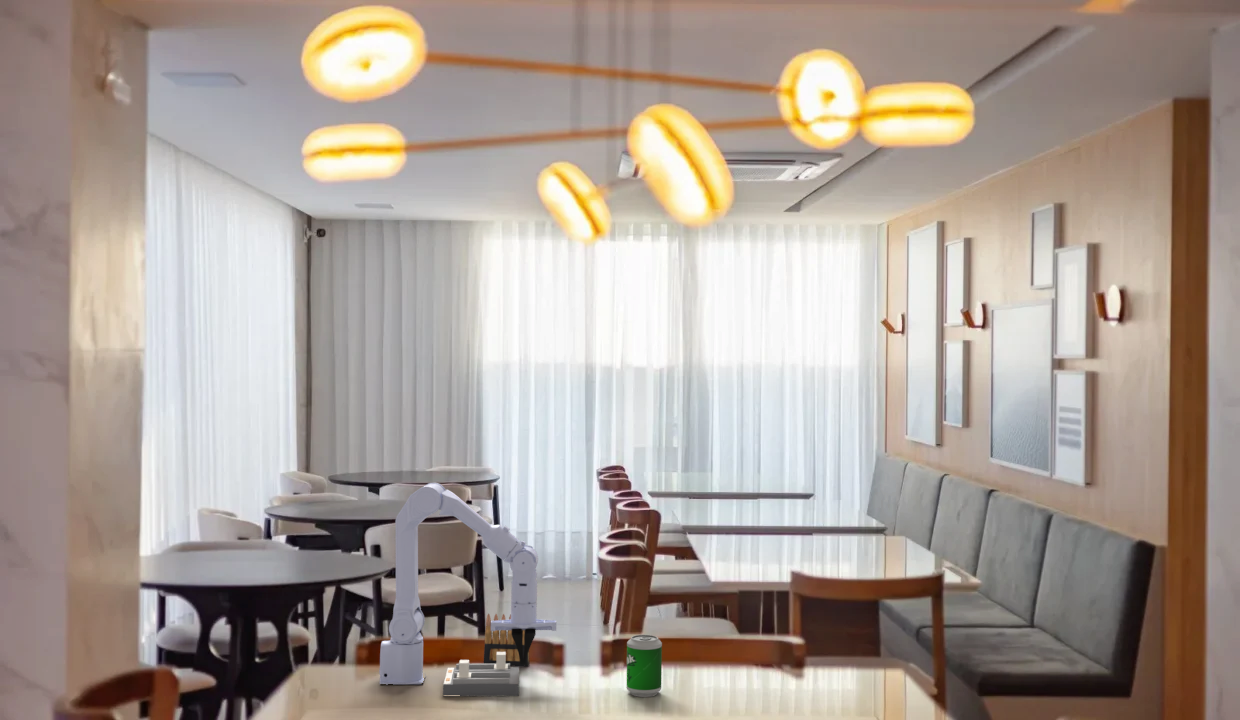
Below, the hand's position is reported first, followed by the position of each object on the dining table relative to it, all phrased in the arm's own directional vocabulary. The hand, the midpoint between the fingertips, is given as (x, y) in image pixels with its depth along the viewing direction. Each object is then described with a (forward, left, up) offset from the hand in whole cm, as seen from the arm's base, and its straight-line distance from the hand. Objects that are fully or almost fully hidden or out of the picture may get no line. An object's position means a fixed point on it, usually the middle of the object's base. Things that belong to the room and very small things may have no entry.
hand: (523, 662), depth 265 cm
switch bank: (-9, -4, -4) cm, 11 cm away
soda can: (+26, -10, -5) cm, 28 cm away
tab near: (-13, -7, -2) cm, 15 cm away
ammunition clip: (-4, +15, -5) cm, 17 cm away
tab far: (-5, 0, -2) cm, 5 cm away
